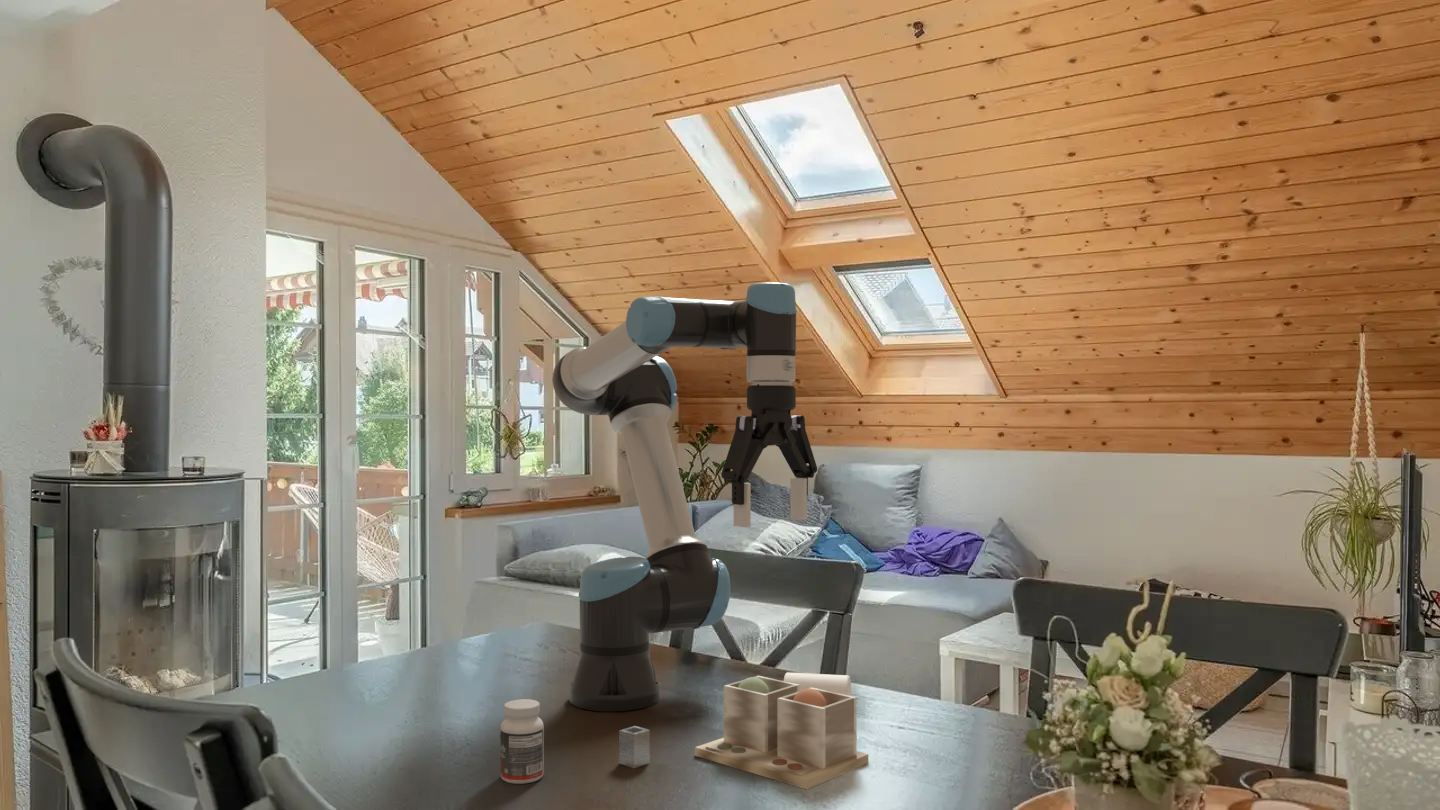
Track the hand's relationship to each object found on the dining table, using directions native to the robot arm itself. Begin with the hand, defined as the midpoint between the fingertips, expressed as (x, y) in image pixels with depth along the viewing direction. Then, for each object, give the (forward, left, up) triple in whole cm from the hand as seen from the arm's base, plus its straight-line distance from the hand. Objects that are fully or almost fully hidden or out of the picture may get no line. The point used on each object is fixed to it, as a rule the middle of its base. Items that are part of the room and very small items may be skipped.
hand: (771, 523), depth 167 cm
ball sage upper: (+4, -9, -24) cm, 26 cm away
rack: (+10, -10, -32) cm, 35 cm away
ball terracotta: (+14, -9, -24) cm, 29 cm away
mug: (+3, +8, -32) cm, 33 cm away
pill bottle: (-11, -39, -32) cm, 52 cm away
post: (-4, -25, -32) cm, 40 cm away
